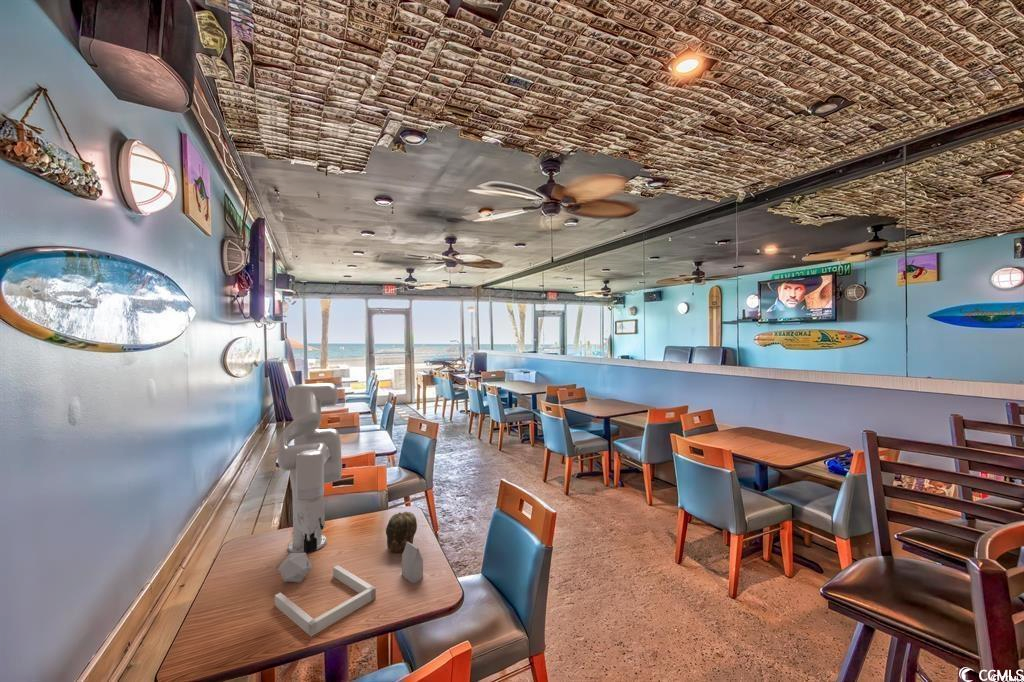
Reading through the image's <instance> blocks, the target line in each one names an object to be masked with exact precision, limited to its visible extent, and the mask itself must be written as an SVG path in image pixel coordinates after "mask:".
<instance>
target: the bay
mask: <svg viewBox="0 0 1024 682" xmlns="http://www.w3.org/2000/svg"><path fill="white" fill-rule="evenodd" d="M332 574H333V575H332V576H333V578H335V579H336V580H337V581H340V582H341V583H343V584H344V585H346V586H347V587H349V588H351V589H352V590H354V591H355V592H357V593H358V594H356V595H354V596H353V597H351V598H349V599H347V600H345V601H344V602H342V603H341V604H338V605H337V606H335V607H333V608H331V609H329V610H328V611H326V612H324V613H322V614H321V615H318V617H315V618H313V617H311V615H309V614H308V613H306V612H305V610H303V609H302V608H301V607H299V606H298V605H297V604H296V603H294V602H293V601H291V600H290V599H289V598H288V597H287V596H286V595H284V594H283V593H282V592H279V593H276V594H275V595H274V606H275V607H276V608H277V609H278V610H280V612H282V613H283V614H284V615H285V616H286V617H287V618H289V619H290V620H291V621H292V622H293V623H294V624H295V625H297V626H298V627H299V628H300V629H302V630H303V631H304V632H305V633H306V634H307V635H309V636H310V637H313V636H314V635H316V634H318V633H319V632H321V631H323V630H325V629H327V628H328V627H330V626H332V625H333V624H335V623H336V622H338V621H340V620H342V619H343V618H345V617H346V616H348V615H350V614H351V613H354V612H356V610H358V609H359V608H362V607H363V606H366V605H367V604H368V603H370V602H372V601H373V600H376V598H377V596H376V595H377V594H376V592H377V591H376V589H377V588H376V587H375V586H374V585H371V584H370V583H368V582H367V581H365V580H363V579H362V578H360V577H359V576H356V575H355V574H353V573H351V571H348V570H347V569H344V568H343V567H341V566H340V565H339V564H337V565H335V566H333V567H332Z"/></svg>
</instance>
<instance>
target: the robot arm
mask: <svg viewBox="0 0 1024 682" xmlns="http://www.w3.org/2000/svg"><path fill="white" fill-rule="evenodd" d="M285 400H286V406H287V407H288V411H289V412H290V415H291V417H292V419H293V420H292V421H291V423H289V424H288V425H287V426H286V427H285V428H284V429H283V432H281V435H280V436H279V439H278V444H277V445H278V447H277V464H278V467H279V468H280V469H281V470H282V471H285V472H287V471H288V472H289V478H290V483H291V484H290V485H291V490H292V492H291V493H292V532H291V535H292V540H291V542H290V543H289V544H288V546H287V548H288V549H287V550H288V552H290V553H306V555H307V554H310V553H312V552H315V551H317V550H319V549H321V548H323V547H324V546H325V545H326V543H327V537H326V536H325V535H323V530H324V529H325V525H326V524H325V516H326V514H325V505H324V504H325V503H324V495H325V493H324V492H325V485H324V484H330V483H335V482H338V481H340V479H341V478H342V474H343V461H342V445H341V437H340V436H341V435H340V432H339V430H337V429H336V428H323V429H320V427H319V426H320V425H321V423H322V417H323V416H322V408H327V407H335V406H337V404H338V402H339V390H338V388H337V386H336V384H334V382H333V383H332V382H322V383H320V382H319V383H305V384H304V383H303V384H300V383H299V384H294V385H292V386H289V387H288V388H287V389H286V390H285ZM292 441H293V445H289V444H290V443H291V442H292Z"/></svg>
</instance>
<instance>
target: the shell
mask: <svg viewBox="0 0 1024 682" xmlns="http://www.w3.org/2000/svg"><path fill="white" fill-rule="evenodd" d="M417 529H418V522H417V518H416V516H415V514H414V513H413V512H411V511H409V512H408V511H404V512H398V513H396V514H393V515H392V516H391V517H390V519H389V520H388V524H387V525H386V528H385V535H386V545H387V549H388V551H389V552H390V553H393V554H395V553H403V551H404V549H405V546H406V542H407V541H408V542H409V543H411V544H412V545H414V544H413V543H414V537H415V535H416V532H417Z"/></svg>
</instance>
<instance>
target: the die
mask: <svg viewBox="0 0 1024 682" xmlns="http://www.w3.org/2000/svg"><path fill="white" fill-rule="evenodd" d="M312 567H313V566H312V564H311V560H310V559H309V557H308V555H307V554H306V553H291V552H290V553H289V554H288V555H287V557H286V558H285V559H284V560H283V562H282V563H281V564H280V566H278V567H277V569H278V572H279V573H280V575H281V577H282V579H283V582H284V583H302V581H303V580H304V578H305V577H306V575H307V574H308V573H309V571H310V570H311V569H312Z"/></svg>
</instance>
